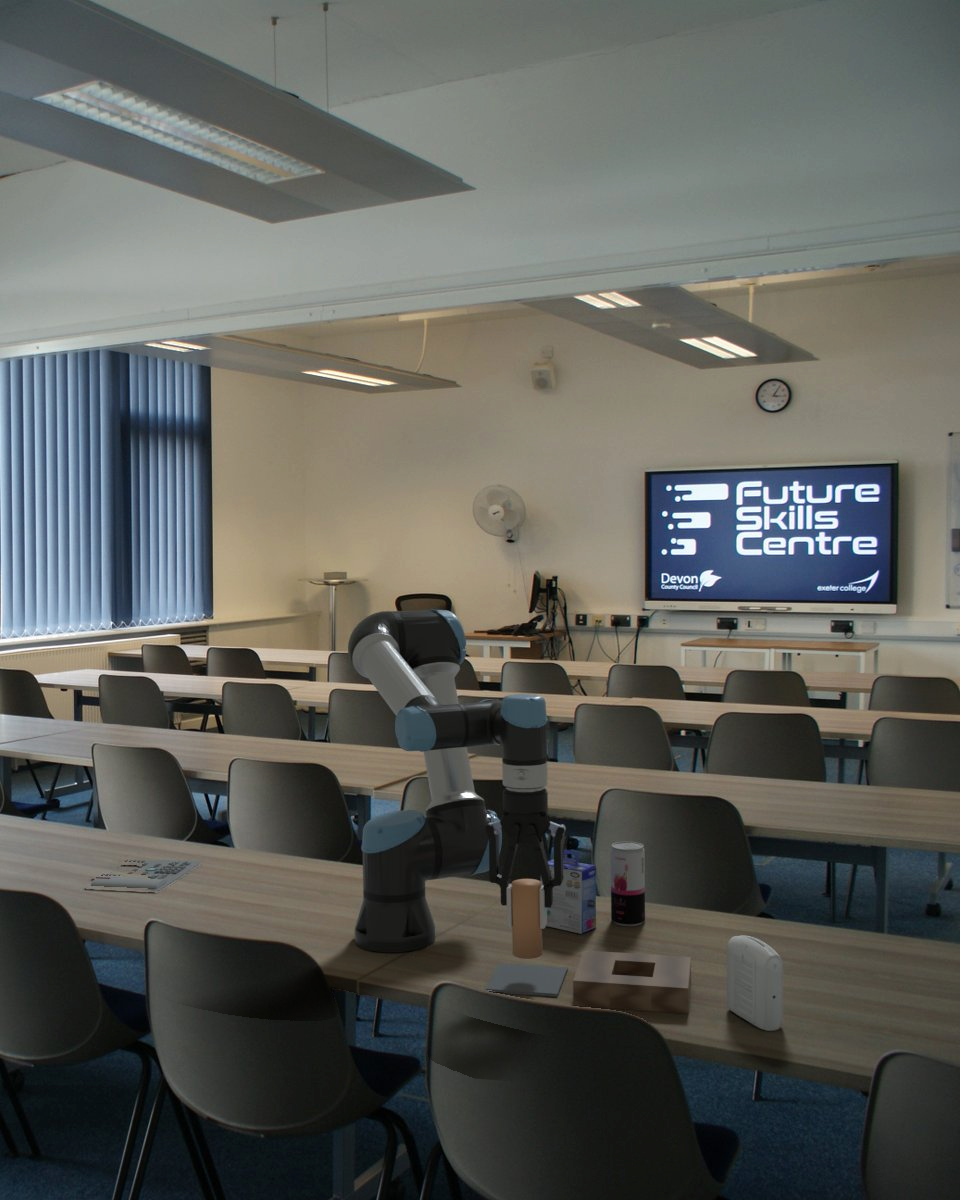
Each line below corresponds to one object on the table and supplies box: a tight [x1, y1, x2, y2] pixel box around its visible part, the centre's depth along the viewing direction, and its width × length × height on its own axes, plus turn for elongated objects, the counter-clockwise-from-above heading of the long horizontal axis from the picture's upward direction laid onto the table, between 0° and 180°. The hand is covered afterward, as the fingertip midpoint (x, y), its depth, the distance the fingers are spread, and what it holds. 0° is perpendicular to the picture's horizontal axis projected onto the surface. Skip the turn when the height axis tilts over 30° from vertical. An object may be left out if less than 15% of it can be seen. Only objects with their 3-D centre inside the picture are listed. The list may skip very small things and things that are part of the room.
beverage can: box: [610, 840, 646, 927], centre depth 220 cm, size 6×6×15 cm
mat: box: [484, 962, 569, 998], centre depth 190 cm, size 12×12×1 cm
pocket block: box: [572, 950, 692, 1015], centre depth 185 cm, size 18×14×4 cm
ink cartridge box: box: [540, 848, 597, 935], centre depth 218 cm, size 10×6×14 cm, turn 53°
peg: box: [511, 878, 543, 960], centre depth 190 cm, size 5×5×12 cm
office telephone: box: [91, 859, 203, 891], centre depth 257 cm, size 23×3×20 cm
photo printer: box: [726, 934, 784, 1032], centre depth 174 cm, size 10×4×12 cm, turn 24°
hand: (527, 924), depth 190 cm, fingers closed on peg, 5 cm apart
